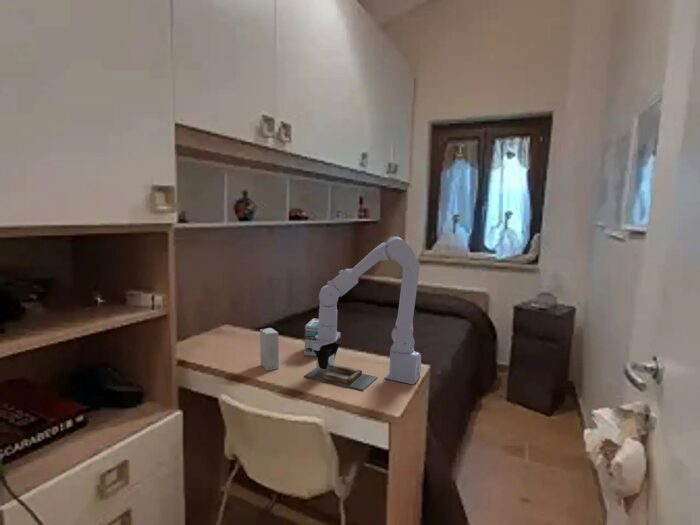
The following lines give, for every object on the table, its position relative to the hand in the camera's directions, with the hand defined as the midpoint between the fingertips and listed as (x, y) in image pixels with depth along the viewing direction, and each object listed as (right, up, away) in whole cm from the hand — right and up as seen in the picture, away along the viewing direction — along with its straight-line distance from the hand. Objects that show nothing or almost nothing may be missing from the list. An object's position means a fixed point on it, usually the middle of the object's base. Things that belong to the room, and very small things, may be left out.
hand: (326, 366), depth 142 cm
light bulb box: (-4, 0, +21) cm, 22 cm away
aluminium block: (0, -2, 0) cm, 2 cm away
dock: (+5, -3, -2) cm, 6 cm away
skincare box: (-19, -2, +5) cm, 19 cm away
